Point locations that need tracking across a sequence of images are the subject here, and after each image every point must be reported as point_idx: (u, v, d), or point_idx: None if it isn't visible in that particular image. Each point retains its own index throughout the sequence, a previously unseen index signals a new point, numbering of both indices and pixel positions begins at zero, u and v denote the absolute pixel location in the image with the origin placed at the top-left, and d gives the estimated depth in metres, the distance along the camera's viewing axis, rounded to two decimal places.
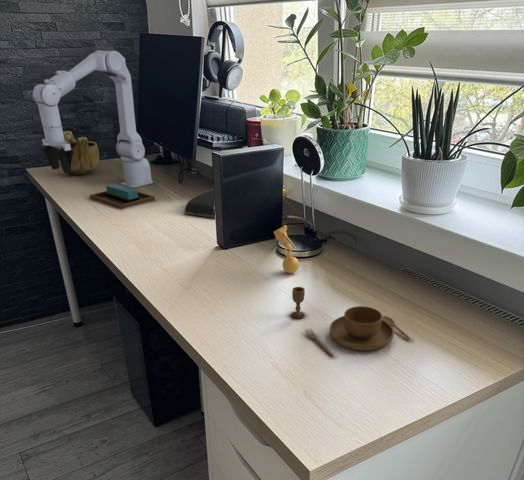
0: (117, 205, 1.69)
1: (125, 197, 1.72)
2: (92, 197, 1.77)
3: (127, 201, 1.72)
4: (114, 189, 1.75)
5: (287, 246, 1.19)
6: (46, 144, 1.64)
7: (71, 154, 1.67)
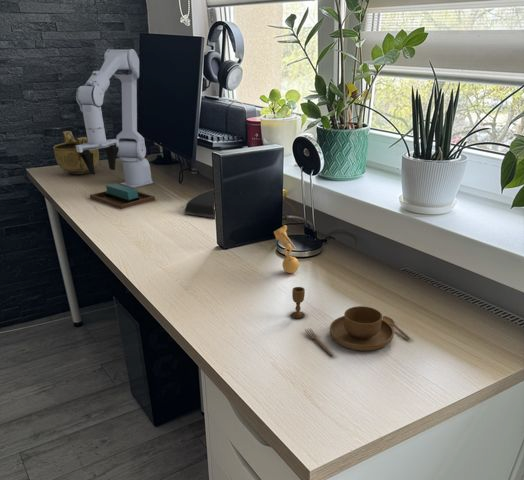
0: (117, 205, 1.69)
1: (125, 197, 1.72)
2: (92, 197, 1.77)
3: (127, 201, 1.72)
4: (114, 189, 1.75)
5: (287, 246, 1.19)
6: (106, 144, 1.66)
7: None
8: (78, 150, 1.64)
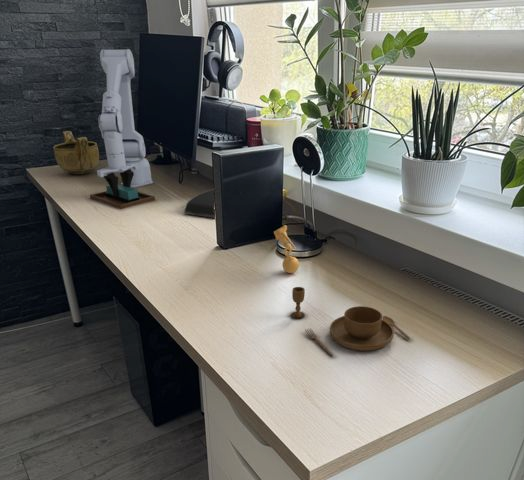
0: (117, 205, 1.69)
1: (125, 197, 1.72)
2: (92, 197, 1.77)
3: (127, 201, 1.72)
4: None
5: (287, 246, 1.19)
6: (126, 169, 1.70)
7: None
8: (99, 175, 1.68)
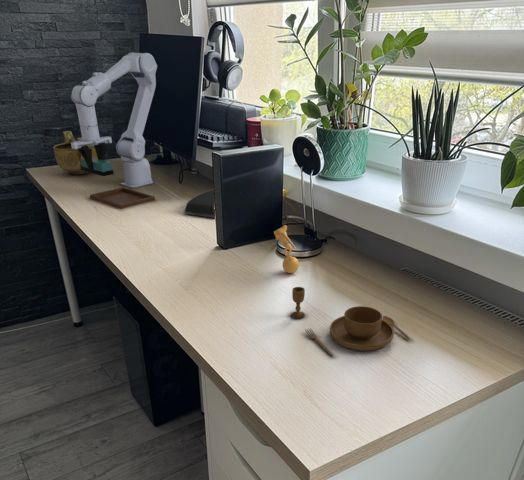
0: (117, 205, 1.69)
1: (99, 169, 1.76)
2: (92, 197, 1.77)
3: (101, 173, 1.76)
4: None
5: (287, 246, 1.19)
6: (99, 141, 1.74)
7: None
8: (73, 147, 1.72)
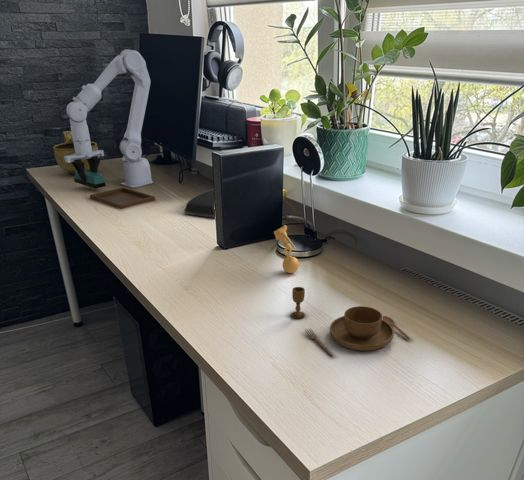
0: (117, 205, 1.69)
1: (91, 182, 1.83)
2: (92, 197, 1.77)
3: (93, 185, 1.83)
4: None
5: (287, 246, 1.19)
6: (92, 155, 1.81)
7: None
8: (66, 160, 1.78)
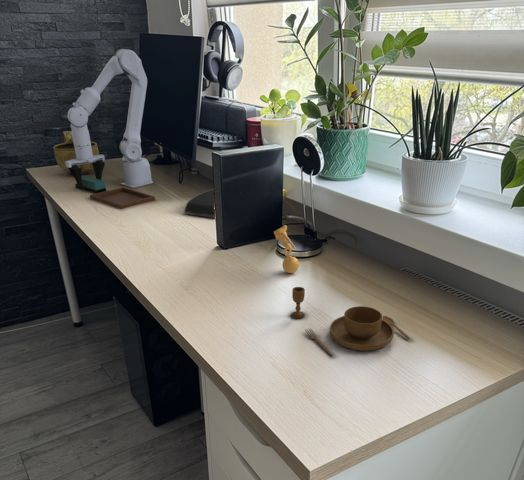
0: (117, 205, 1.69)
1: (92, 188, 1.84)
2: (92, 197, 1.77)
3: (94, 191, 1.84)
4: (83, 180, 1.87)
5: (287, 246, 1.19)
6: (93, 160, 1.82)
7: None
8: (67, 165, 1.79)
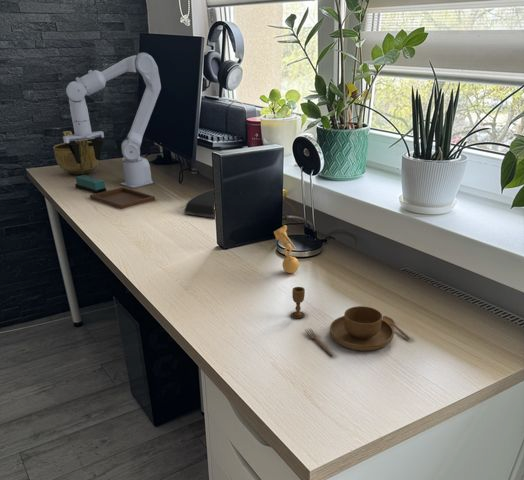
0: (117, 205, 1.69)
1: (92, 188, 1.84)
2: (92, 197, 1.77)
3: (94, 191, 1.84)
4: (83, 180, 1.87)
5: (287, 246, 1.19)
6: (91, 136, 1.80)
7: None
8: (65, 141, 1.78)
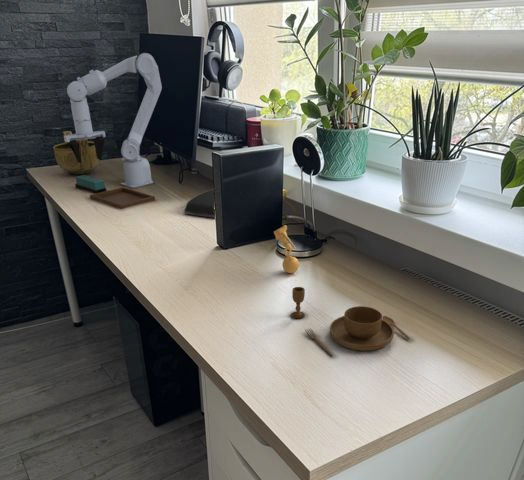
0: (117, 205, 1.69)
1: (92, 188, 1.84)
2: (92, 197, 1.77)
3: (94, 191, 1.84)
4: (83, 180, 1.87)
5: (287, 246, 1.19)
6: (91, 135, 1.81)
7: None
8: (65, 140, 1.79)
